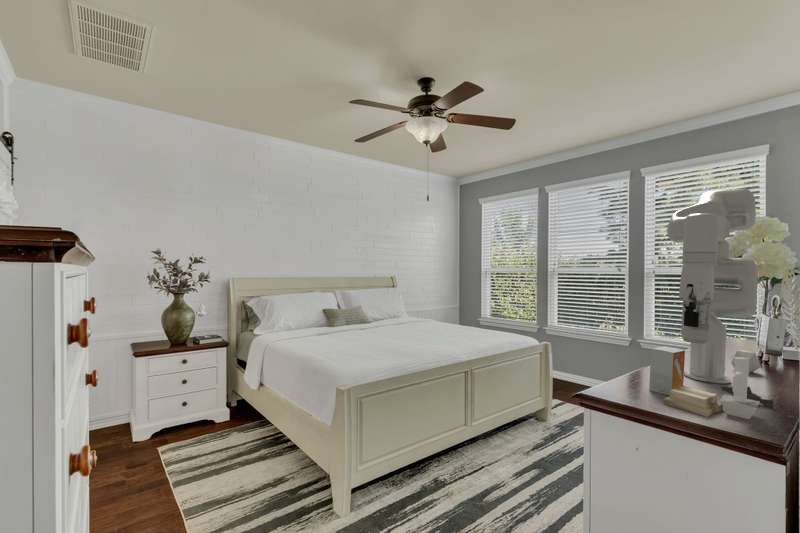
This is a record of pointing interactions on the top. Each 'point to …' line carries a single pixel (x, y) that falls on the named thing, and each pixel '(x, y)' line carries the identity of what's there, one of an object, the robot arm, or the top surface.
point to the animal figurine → (750, 396)
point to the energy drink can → (702, 331)
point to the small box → (666, 369)
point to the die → (752, 357)
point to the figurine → (740, 392)
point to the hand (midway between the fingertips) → (696, 325)
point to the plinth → (694, 401)
